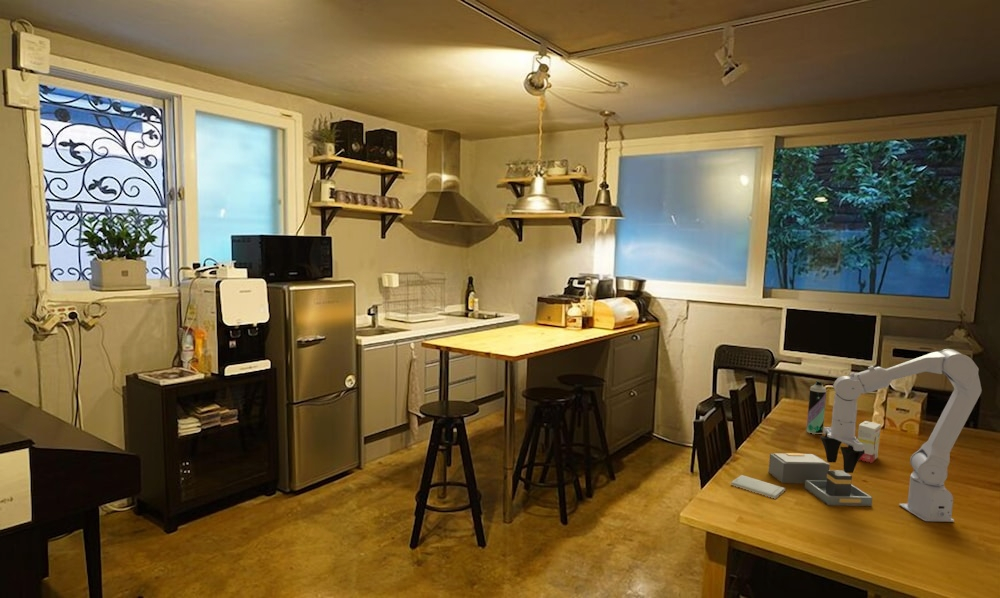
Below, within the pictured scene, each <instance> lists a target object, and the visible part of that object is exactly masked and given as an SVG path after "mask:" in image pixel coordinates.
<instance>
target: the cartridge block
mask: <svg viewBox="0 0 1000 598" xmlns="http://www.w3.org/2000/svg"><path fill="white" fill-rule="evenodd" d="M851 484H852V485H853V475H852V474H851V473H845V472H844V469H843V470H839V469H833V470H832V469H829V470H828V472H827V483H826V493H828V494H829V495H830V496H850V494H851Z"/></svg>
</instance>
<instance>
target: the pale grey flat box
mask: <svg viewBox="0 0 1000 598" xmlns="http://www.w3.org/2000/svg"><path fill="white" fill-rule="evenodd" d="M830 465H831V464H830V462H827V461H825V460H823V458H820V457H819V456H817V455H816V454H812V453H801V452H800V453H799V452H785V453H782V452H781V453H776V452H774V453H769V463H768V473H769V474H770V475H771V474H772V475H771V476H772V477H773V478H775V479H776V478H777V481H779V482H780V481H781V482H782V484H805V480H827V472H828V470H830V469H831V468H830V467H831V466H830ZM781 482H780V483H781Z"/></svg>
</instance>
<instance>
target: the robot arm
mask: <svg viewBox="0 0 1000 598" xmlns="http://www.w3.org/2000/svg"><path fill="white" fill-rule="evenodd" d="M979 371H980V370H979V367H978V366H977V364H976V363H975V361H974V360H973V359H972V358H971V357H970V356H968V355H966V354H963V353H961V352H960V351H958V350H956V349H952V348H946V349H941V350H939V351H934V352H933V351H932V352H929V353H927V354H923V355H922V356H919V357H916V358H913V359H910V360H907V361H904V362H902V363H899V364H896V365H893V366H891V367H887V368H884V367H881V366H874V365H870V366H868V367H867V369H866V370H863V371H859V372H856V373H854V372H850V373H849V376H847V375H843V376H839V377H837V378H836V380H834V383H833V384H832V387H833V389H834V390H833V391H834V392H835V393H834V396H833V399H834V401H833V403H832V404H833V406H832V416H831V426H823V434H822V435H820V440H821V442H822V444H823V446H824V447H823V448H824V451H825V456H826V460H827V461H826V462H827V463H836V462H837V460H838V456H839V455H838V454H839V451H840V450H841V453H842V459H843V471H844V472H845V473H848V474H853V473H854V470H855V468H856V466H857V463H858V462H859V461H860V460H859V459H860V457H861V456H862V455H863V454H864V453H865V451H864V450H863V444H862V443H860V442H859V441H858V437H856V424H857V423H856V422H857V413H858V405H857V403H858V398H860V396H861V394H863V395H864V394H868V393H871V392H875V391H877V390H881V389H884V388H887V387H889V386H890V384H891V383H892V381H894V380H898V379H903V378H906V377H910V376H914V375H917V374H921V373H926V372H927V373H933V374H936V375H937V374H938V375H943V374H944V375H945V376H946V377H947V379H948V380H949V382H950V383H951V385H952V387H953V391H952V393H951V395H950V396H949V399H948V401H947V403H946V404H945V406H944V408H943V410H942V411H941V414H940V417H939V418H938V420H937V422H936V424H935V425H934V428H933V430H932V432H931V433H930V436H929V437H928V439H927V441H925V442H923V444H922V445H921V446H920V448H919V449H917V451H914V453H912V455H911V456H910V460H909V461H910V462H909V464H910V466H911V467H912V468H913V471H912V472H911V474H910V476H909V477H910V478H909V488H908V495H907V503H898V505H899V506H900V507H901V508H903V509H904V510H906V511H908V512H909V513H911V514H913V515H915V517H917V518H919V519H920V520H922V521H924V522H947V523H948V522H952V523H954V522H955V519H954V518H952V516H953V515H952V514H953V506H954V497H953V494H952V492H951V491H949V490H948V489H947V488H946V486H945V481H946V480H947V478H948V467H949V464H950V461H951V460H950V459H951V458H950V454H951V451H952V450H953V447H954V445H955V443H956V441H957V440H958V437H959V436H960V434H961V432H962V430H963V428H964V427H965V424H966V422H967V421H968V420H969V417H970V415H971V413H972V411H973V409H974V407H975V405H976V404H977V402H978V399H979V397H980V396H981V394H982V392H983V390H982V386H981V385H982V384H981V380H980V376H979ZM842 444H845V445H846V446H841V445H842Z"/></svg>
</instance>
